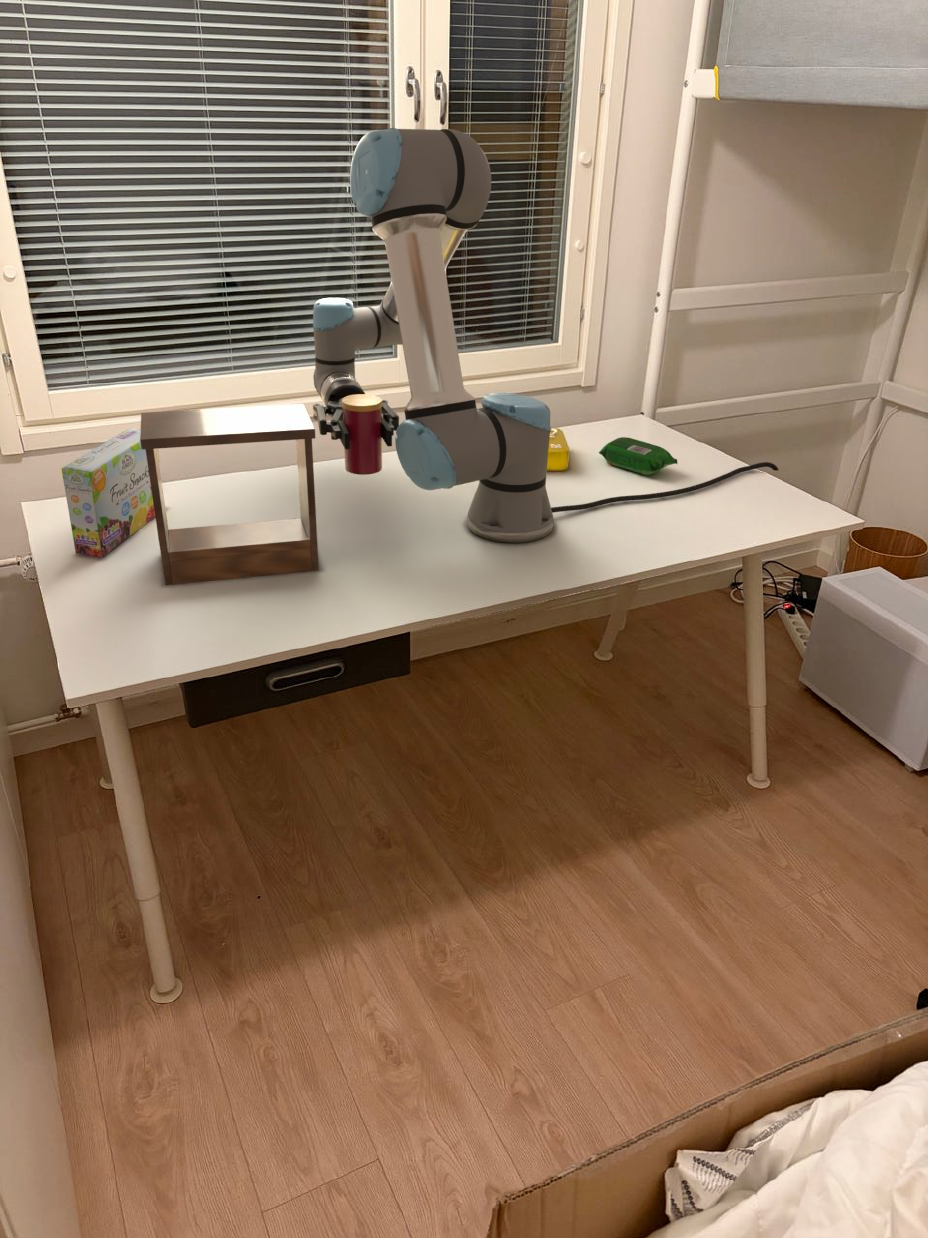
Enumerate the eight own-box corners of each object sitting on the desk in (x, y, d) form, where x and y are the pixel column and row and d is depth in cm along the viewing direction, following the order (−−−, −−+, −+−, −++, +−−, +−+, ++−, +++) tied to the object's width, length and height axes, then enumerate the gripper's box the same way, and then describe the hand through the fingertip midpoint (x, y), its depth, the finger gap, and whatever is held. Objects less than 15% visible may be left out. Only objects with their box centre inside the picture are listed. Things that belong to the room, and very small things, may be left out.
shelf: (311, 538, 161) (303, 403, 149) (322, 570, 150) (315, 428, 139) (161, 551, 154) (141, 412, 143) (162, 586, 144) (140, 439, 132)
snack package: (658, 483, 188) (661, 458, 185) (595, 462, 197) (598, 438, 194) (677, 474, 192) (681, 450, 190) (615, 454, 202) (618, 431, 199)
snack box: (106, 559, 151) (90, 471, 144) (74, 555, 152) (57, 467, 145) (167, 509, 170) (156, 428, 162) (139, 505, 170) (126, 425, 163)
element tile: (492, 445, 204) (492, 424, 202) (560, 446, 205) (562, 425, 202) (496, 470, 191) (497, 447, 189) (569, 471, 192) (571, 449, 189)
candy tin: (378, 459, 165) (377, 392, 159) (386, 473, 160) (385, 404, 154) (341, 462, 164) (338, 394, 158) (347, 476, 158) (345, 406, 152)
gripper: (395, 415, 178) (425, 457, 159) (292, 421, 173) (310, 465, 154) (395, 376, 174) (425, 414, 155) (290, 381, 169) (308, 421, 150)
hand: (368, 439), depth 154 cm, fingers closed on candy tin, 6 cm apart
